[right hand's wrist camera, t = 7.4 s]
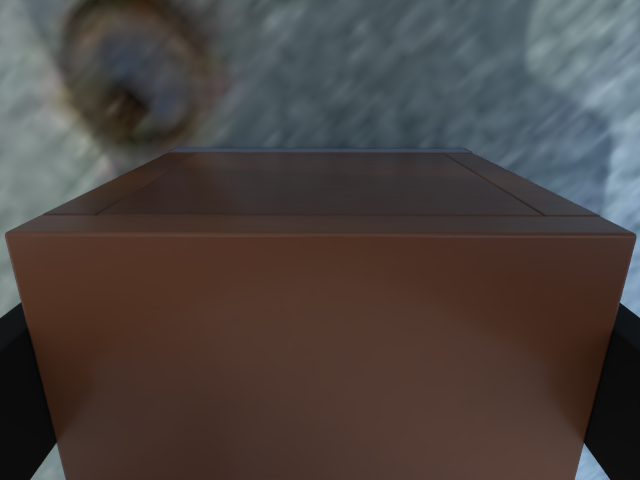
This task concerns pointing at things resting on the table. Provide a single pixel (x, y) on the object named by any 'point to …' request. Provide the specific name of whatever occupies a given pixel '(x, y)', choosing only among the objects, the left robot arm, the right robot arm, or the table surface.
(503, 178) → the cabinet
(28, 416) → the right robot arm
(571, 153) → the table surface
